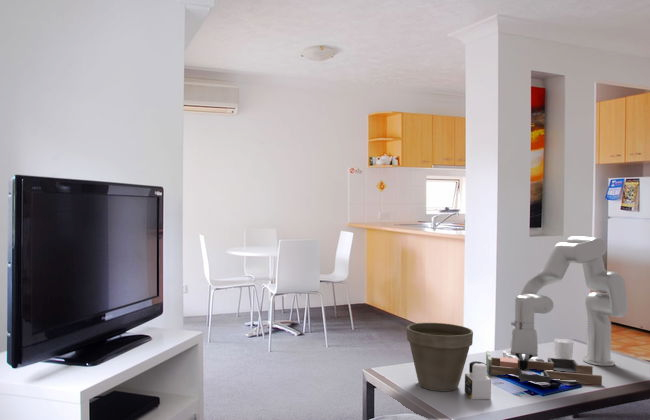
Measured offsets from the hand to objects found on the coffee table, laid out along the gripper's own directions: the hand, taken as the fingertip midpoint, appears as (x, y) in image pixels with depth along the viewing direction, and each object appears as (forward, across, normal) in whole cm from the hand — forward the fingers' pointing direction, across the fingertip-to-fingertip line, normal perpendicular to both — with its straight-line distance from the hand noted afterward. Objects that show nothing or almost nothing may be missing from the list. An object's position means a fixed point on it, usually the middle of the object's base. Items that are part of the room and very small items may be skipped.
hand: (523, 369), depth 213 cm
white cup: (+2, +20, +22) cm, 30 cm away
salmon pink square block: (+2, -6, +2) cm, 6 cm away
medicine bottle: (+2, -20, -35) cm, 40 cm away
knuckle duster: (+2, +2, +17) cm, 17 cm away
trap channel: (+1, +7, 0) cm, 7 cm away
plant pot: (+2, -34, -27) cm, 44 cm away
